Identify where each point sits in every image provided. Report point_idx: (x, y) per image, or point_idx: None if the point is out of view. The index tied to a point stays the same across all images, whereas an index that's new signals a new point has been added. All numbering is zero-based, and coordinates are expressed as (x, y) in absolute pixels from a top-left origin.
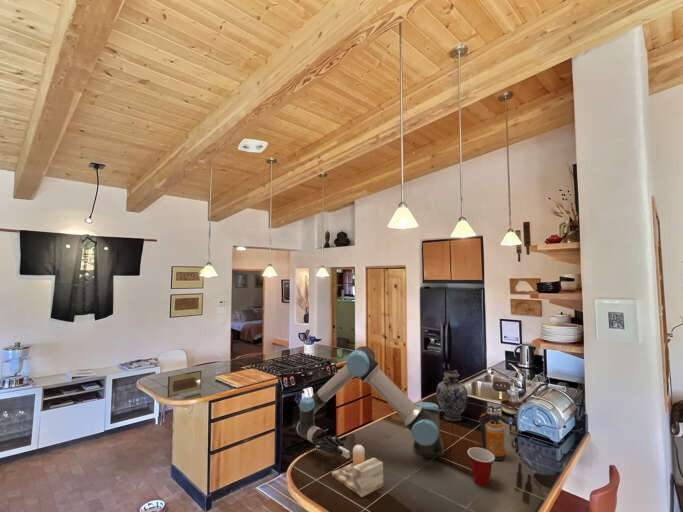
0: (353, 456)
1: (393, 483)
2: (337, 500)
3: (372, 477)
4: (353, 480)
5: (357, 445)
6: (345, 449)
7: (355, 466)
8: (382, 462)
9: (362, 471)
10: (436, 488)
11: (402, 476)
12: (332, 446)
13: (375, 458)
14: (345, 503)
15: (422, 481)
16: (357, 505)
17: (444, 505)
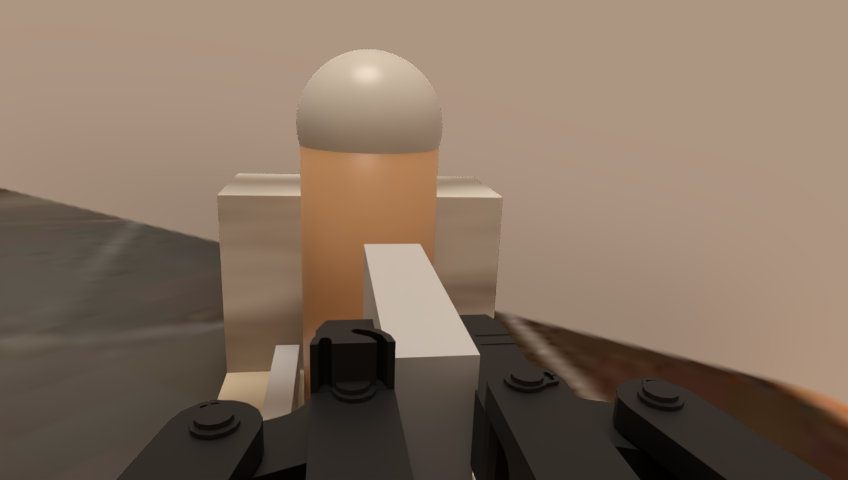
0: (437, 171)
1: (163, 340)
2: (646, 377)
3: None
4: (491, 304)
5: (383, 51)
6: (389, 272)
7: (475, 194)
8: (240, 174)
9: (459, 177)
10: (58, 265)
11: (15, 354)
12: (625, 476)
13: (225, 189)
14: (595, 348)
15: (17, 298)
16: (526, 322)
17: (180, 235)
